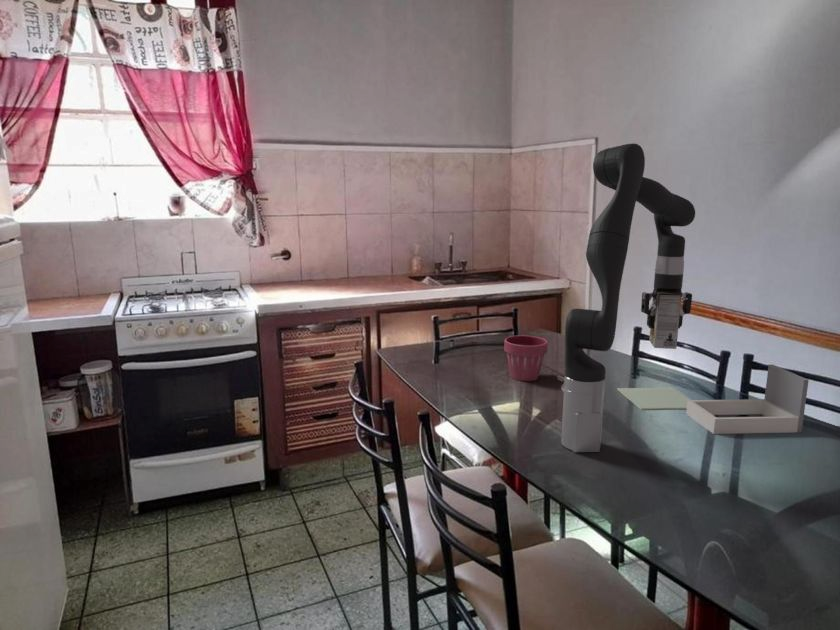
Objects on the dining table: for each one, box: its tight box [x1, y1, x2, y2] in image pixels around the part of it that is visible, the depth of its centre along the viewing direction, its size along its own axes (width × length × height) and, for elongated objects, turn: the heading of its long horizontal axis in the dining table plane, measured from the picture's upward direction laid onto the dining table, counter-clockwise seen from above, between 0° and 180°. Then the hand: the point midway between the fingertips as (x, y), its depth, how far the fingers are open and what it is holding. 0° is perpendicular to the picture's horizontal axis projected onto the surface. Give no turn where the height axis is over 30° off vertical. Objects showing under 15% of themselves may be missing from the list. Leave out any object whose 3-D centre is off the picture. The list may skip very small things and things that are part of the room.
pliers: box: [556, 374, 565, 393], centre depth 188 cm, size 10×2×15 cm
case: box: [685, 364, 810, 435], centre depth 156 cm, size 14×23×14 cm, turn 93°
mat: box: [616, 386, 692, 411], centre depth 176 cm, size 18×18×1 cm
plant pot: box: [503, 334, 549, 382], centre depth 195 cm, size 14×14×13 cm
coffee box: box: [649, 289, 682, 350], centre depth 171 cm, size 9×6×16 cm
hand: (664, 328), depth 172 cm, fingers closed on coffee box, 7 cm apart
